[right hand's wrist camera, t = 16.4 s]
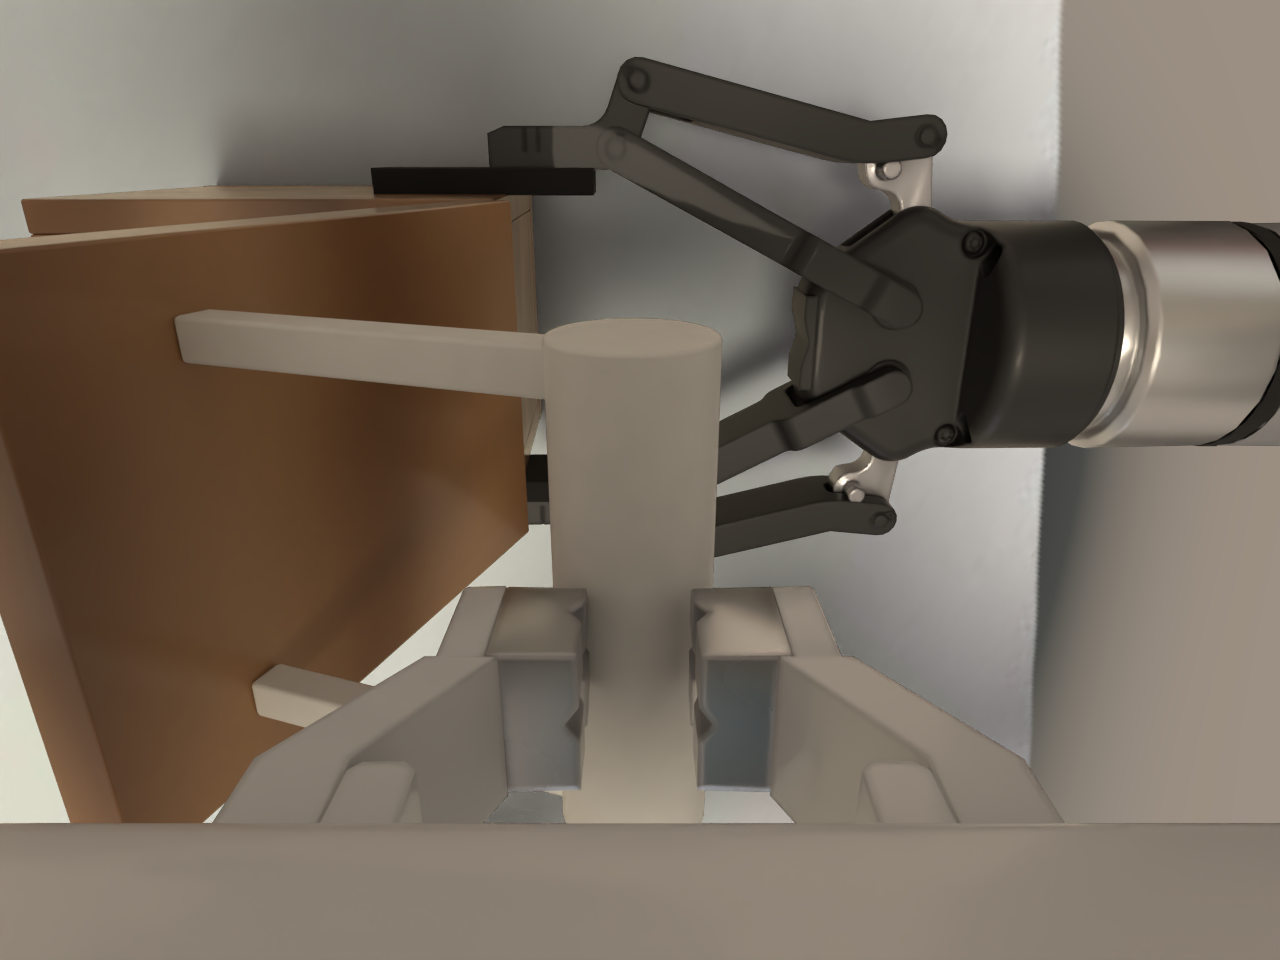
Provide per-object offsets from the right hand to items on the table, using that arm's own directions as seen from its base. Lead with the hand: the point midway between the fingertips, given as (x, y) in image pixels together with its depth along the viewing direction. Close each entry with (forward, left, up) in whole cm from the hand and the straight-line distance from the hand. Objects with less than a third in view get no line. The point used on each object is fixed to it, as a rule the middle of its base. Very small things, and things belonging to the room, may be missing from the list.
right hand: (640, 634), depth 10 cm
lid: (-5, -4, -7) cm, 10 cm away
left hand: (-5, -5, -18) cm, 20 cm away
